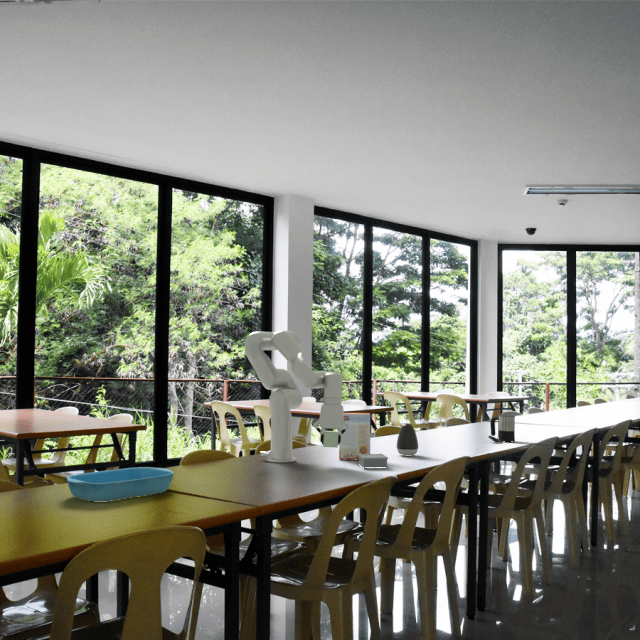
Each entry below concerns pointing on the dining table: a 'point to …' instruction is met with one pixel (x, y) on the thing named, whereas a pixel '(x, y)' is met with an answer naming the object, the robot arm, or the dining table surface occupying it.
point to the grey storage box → (372, 460)
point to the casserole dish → (120, 483)
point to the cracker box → (355, 436)
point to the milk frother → (503, 428)
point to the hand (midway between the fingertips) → (330, 443)
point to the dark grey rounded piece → (407, 440)
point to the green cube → (330, 439)
